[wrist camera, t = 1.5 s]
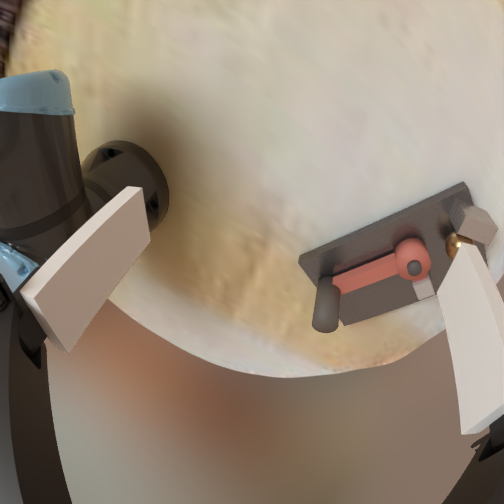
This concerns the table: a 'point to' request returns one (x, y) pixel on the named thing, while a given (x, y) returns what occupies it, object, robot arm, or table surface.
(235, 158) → the table surface
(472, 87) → the table surface
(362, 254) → the base
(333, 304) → the lever
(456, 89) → the table surface
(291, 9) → the table surface
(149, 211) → the robot arm
